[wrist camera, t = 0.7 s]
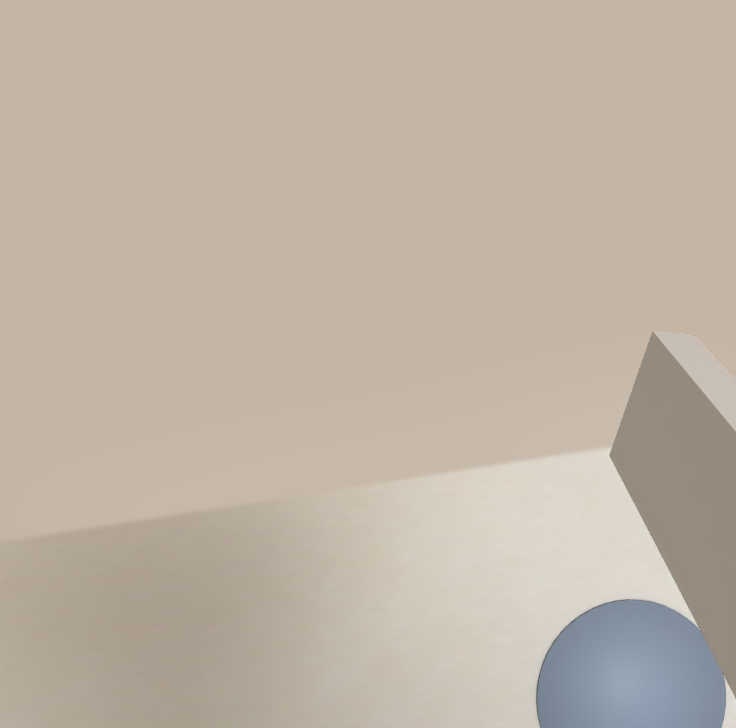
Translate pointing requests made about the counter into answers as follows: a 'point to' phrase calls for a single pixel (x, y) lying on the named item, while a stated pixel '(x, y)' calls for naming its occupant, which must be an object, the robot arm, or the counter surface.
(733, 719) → the counter surface
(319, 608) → the counter surface
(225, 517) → the counter surface
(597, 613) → the slate mark
